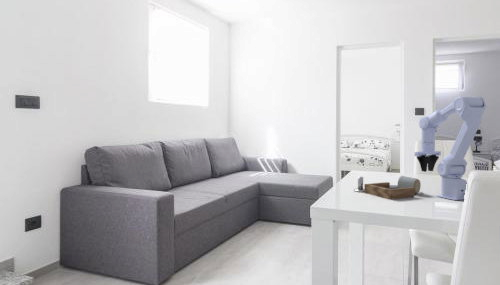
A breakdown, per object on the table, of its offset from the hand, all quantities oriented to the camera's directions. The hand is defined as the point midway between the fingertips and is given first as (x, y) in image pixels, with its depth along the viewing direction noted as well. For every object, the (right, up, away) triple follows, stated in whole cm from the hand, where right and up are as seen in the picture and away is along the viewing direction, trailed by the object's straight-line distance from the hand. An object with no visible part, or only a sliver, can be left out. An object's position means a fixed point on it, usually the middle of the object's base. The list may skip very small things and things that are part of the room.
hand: (427, 171), depth 171 cm
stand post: (-31, -9, +1) cm, 33 cm away
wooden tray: (-21, -10, -8) cm, 24 cm away
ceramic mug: (-10, -10, -3) cm, 14 cm away
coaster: (-12, -9, +9) cm, 17 cm away
